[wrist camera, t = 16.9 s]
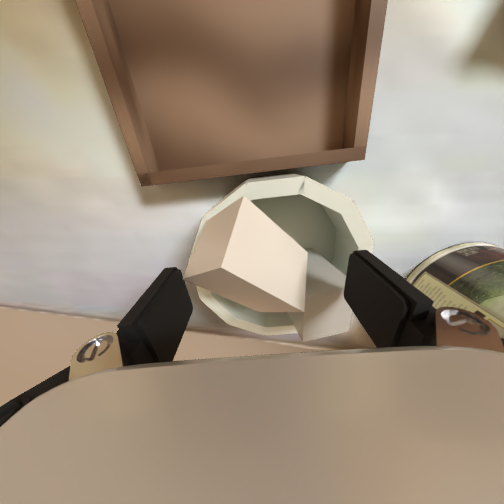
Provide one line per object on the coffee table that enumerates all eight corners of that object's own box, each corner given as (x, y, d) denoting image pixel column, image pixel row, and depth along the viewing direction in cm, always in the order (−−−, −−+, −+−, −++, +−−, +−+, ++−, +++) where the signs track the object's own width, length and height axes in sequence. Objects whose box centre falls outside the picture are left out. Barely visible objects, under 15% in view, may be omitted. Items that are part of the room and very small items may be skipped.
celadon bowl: (190, 184, 15) (167, 192, 11) (350, 165, 14) (389, 165, 10) (219, 304, 20) (211, 339, 16) (335, 295, 20) (356, 328, 16)
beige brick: (267, 262, 15) (206, 220, 11) (307, 252, 12) (243, 195, 9) (259, 312, 13) (182, 279, 9) (304, 312, 10) (221, 267, 7)
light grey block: (275, 254, 16) (304, 296, 11) (311, 247, 16) (357, 285, 11) (276, 290, 18) (302, 342, 12) (309, 283, 18) (348, 331, 13)
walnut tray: (68, -92, 9) (17, -163, 7) (383, -156, 8) (424, -256, 6) (156, 183, 15) (141, 186, 13) (348, 160, 14) (364, 159, 12)
